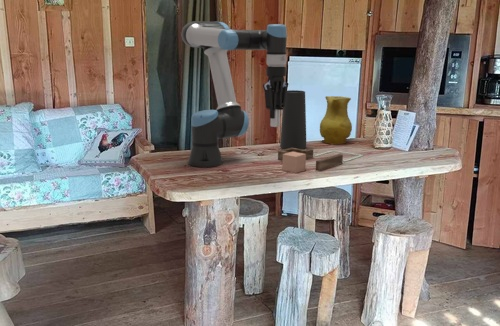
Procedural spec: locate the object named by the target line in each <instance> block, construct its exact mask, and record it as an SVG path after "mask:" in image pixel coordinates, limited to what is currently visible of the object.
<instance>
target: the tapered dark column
mask: <svg viewBox="0 0 500 326" xmlns="http://www.w3.org/2000/svg"><path fill="white" fill-rule="evenodd" d="M306 108H307V107H306V91H304V90H298V89H297V90H294V89H293V90H290V89H289V90H287V93H286V101H285V107H283V110H282V112H281V125H280V127H281V128H280V142H279V143H280V144H279V148H280V147H281V148H282V149H281V148H280V149H281V150H284V149H288V148H297V149H302V150H307V115H306V114H307V113H306V112H307V111H306V110H307V109H306Z"/></svg>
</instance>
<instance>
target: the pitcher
mask: <svg viewBox="0 0 500 326" xmlns="http://www.w3.org/2000/svg"><path fill="white" fill-rule="evenodd" d="M324 98H325V100H326V110H325V111H326V112H325V114H324V116H323V118H322V119H321V121H320V122H319V123H320V124H319V134H320V136H321V137H322V138H323V140H322V142H323V143H325V144H329V145H343V144H346V143H347V141H346V140H347V139H349V138H350V136H351V133H352V130H353V125H352V122H351V120H350V118H349V114H348V105H349V103H350V101H351V100H352V98H351V97H347V96H342V95H341V96H339V95H338V96H334V95H331V96H325V97H324Z"/></svg>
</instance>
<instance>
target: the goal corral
mask: <svg viewBox="0 0 500 326" xmlns="http://www.w3.org/2000/svg"><path fill="white" fill-rule="evenodd" d="M333 152H335V153H339V154H340V153H341V154H346V155H350V156H351V155H352V156H354V157H351V158H348V159H344V160H343V161H342V163H347V162H349V161H353V160H356V159H359V158H361V157H364V155H363V154H359V153H358V154H357V153H352V152H347V151H341V150H336V149H332V150H328V151H325V152H322V153H317V154H313V157H318V156H319V157H320V156H323V155H326V154H329V153H333Z"/></svg>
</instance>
